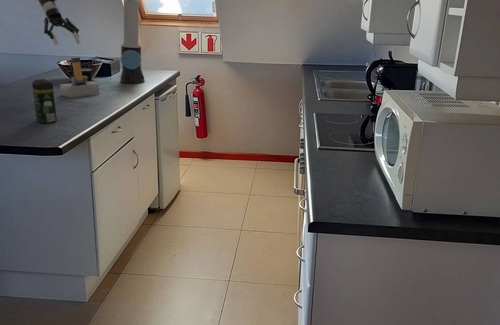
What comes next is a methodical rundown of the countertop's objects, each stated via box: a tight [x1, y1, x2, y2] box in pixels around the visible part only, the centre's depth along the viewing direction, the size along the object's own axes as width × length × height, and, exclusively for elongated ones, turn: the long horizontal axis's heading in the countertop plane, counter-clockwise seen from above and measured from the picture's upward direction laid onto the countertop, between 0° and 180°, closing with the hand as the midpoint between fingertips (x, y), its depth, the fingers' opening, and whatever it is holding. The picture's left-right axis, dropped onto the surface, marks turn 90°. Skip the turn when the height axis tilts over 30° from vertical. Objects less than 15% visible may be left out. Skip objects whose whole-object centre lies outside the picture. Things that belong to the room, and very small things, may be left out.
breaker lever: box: [70, 57, 84, 84], centre depth 271 cm, size 2×4×14 cm, turn 135°
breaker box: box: [59, 76, 100, 99], centre depth 273 cm, size 9×18×10 cm, turn 135°
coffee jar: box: [32, 78, 58, 124], centre depth 217 cm, size 10×8×19 cm
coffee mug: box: [69, 68, 93, 81], centre depth 295 cm, size 12×9×10 cm
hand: (68, 42), depth 272 cm, fingers open, 13 cm apart
